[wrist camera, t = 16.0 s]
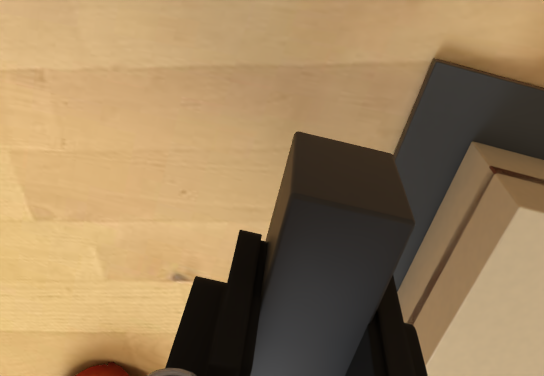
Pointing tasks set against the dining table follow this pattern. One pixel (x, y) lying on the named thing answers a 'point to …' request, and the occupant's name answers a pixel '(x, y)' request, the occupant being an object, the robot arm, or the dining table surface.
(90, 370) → the tomato
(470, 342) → the cake
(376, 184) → the knife
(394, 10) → the dining table surface
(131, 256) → the dining table surface
